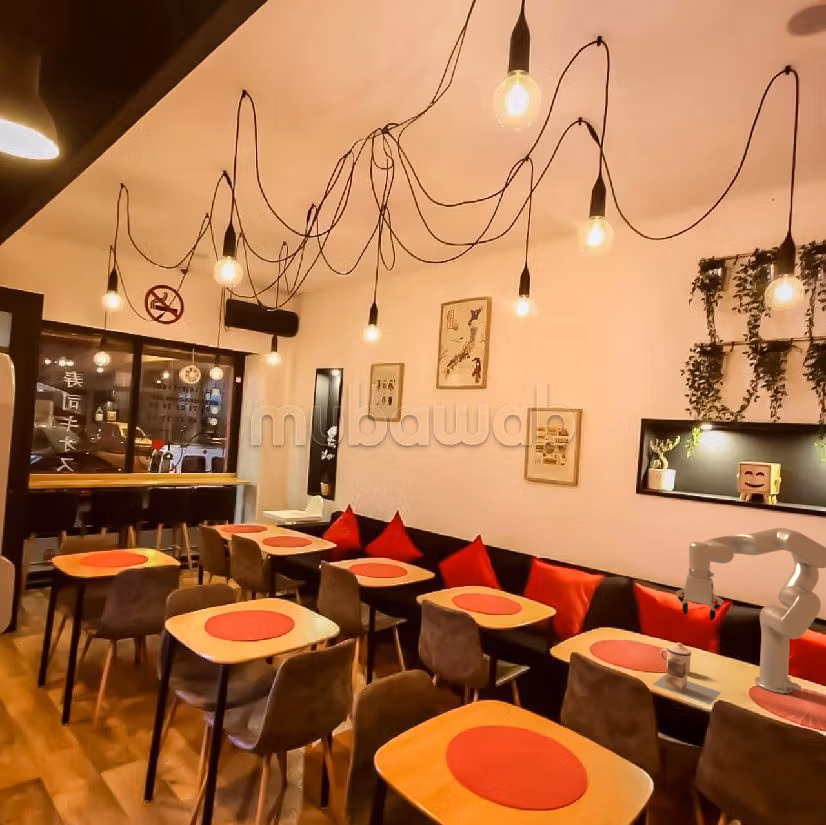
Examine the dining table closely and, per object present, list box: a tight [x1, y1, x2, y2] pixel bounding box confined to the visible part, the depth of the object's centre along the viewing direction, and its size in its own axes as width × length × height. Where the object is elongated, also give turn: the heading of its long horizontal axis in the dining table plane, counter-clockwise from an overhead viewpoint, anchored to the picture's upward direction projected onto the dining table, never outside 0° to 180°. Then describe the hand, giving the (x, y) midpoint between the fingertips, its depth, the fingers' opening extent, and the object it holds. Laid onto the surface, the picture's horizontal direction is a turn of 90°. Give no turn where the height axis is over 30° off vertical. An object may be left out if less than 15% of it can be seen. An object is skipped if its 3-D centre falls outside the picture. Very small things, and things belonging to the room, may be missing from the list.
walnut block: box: [666, 657, 687, 678], centre depth 214 cm, size 5×5×5 cm
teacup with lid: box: [659, 642, 692, 675], centre depth 233 cm, size 12×9×12 cm
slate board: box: [652, 674, 722, 705], centre depth 214 cm, size 20×15×1 cm
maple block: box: [664, 672, 688, 693], centre depth 214 cm, size 6×6×5 cm
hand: (698, 616), depth 225 cm, fingers open, 9 cm apart
